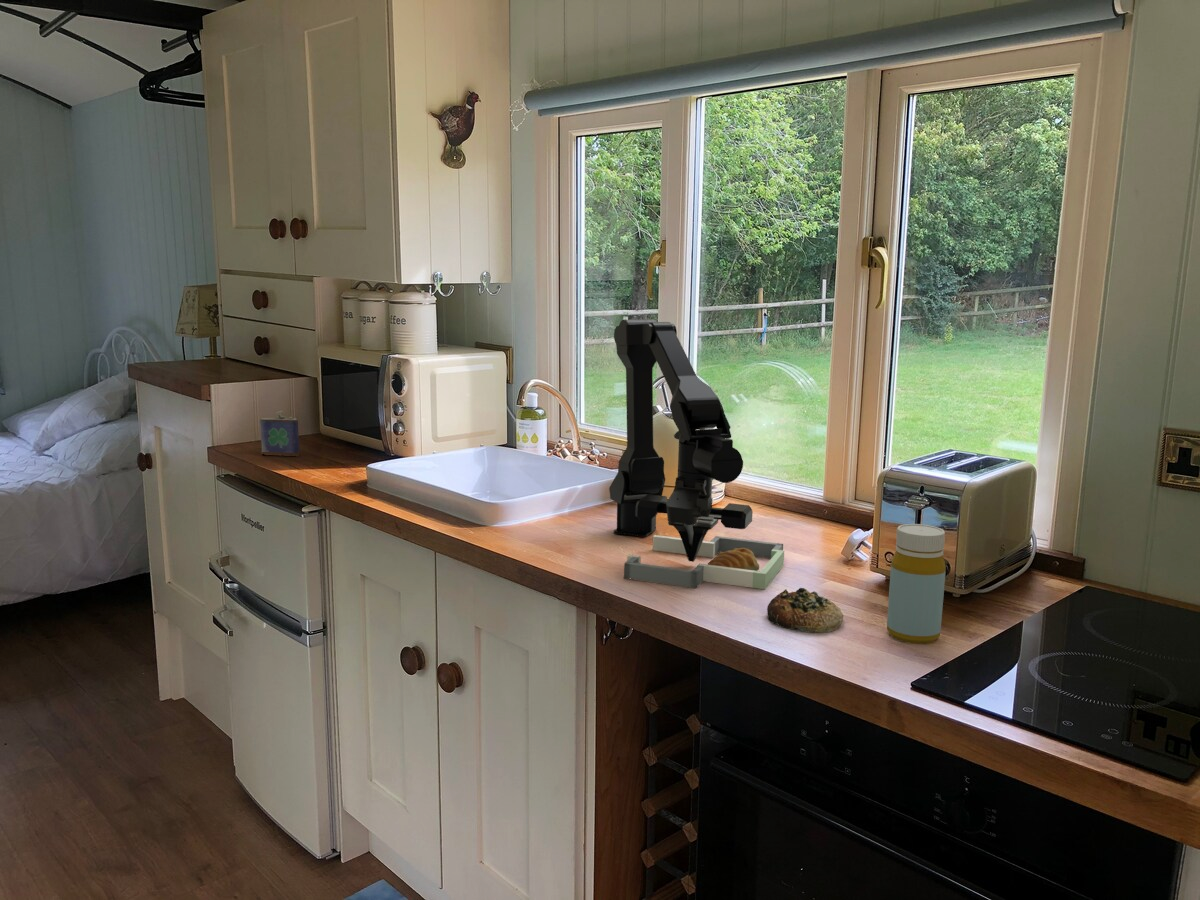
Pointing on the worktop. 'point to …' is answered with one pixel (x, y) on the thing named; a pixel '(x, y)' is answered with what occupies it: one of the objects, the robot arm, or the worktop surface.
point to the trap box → (705, 571)
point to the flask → (280, 434)
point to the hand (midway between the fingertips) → (691, 560)
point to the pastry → (736, 559)
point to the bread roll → (804, 611)
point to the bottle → (917, 584)
